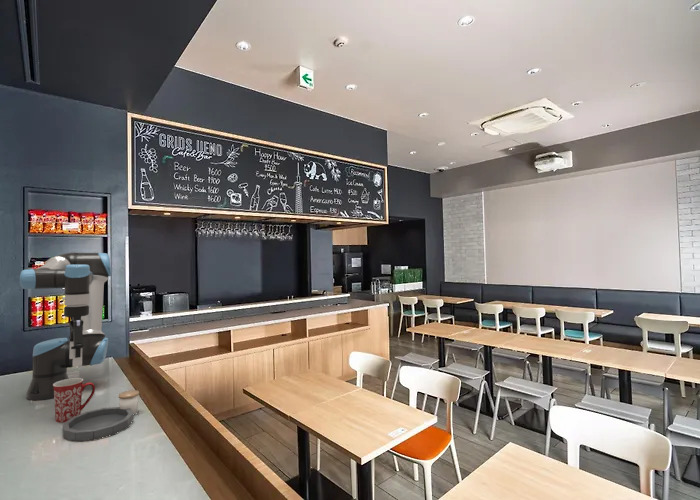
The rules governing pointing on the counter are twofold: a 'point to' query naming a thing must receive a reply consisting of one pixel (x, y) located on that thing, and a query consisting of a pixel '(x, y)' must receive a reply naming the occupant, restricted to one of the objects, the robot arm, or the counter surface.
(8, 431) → the counter surface
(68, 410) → the mug
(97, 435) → the tray
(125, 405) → the pot
